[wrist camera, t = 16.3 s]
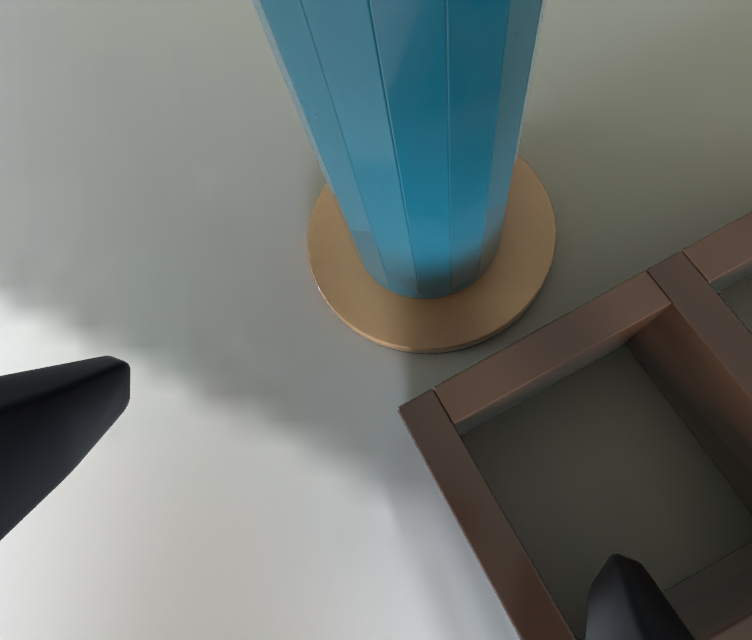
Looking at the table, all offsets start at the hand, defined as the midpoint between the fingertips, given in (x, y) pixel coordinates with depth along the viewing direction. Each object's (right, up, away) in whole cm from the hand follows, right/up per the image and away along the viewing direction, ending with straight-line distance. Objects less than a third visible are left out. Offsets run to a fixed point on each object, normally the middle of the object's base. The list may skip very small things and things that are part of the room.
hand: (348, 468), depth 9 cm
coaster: (+2, +6, +10) cm, 12 cm away
